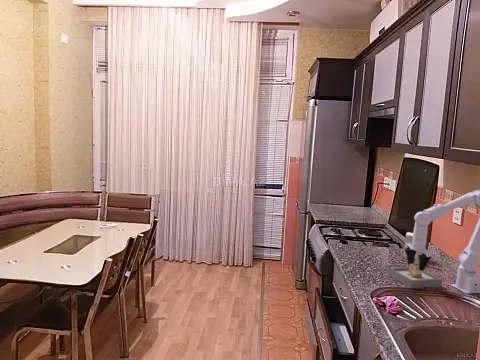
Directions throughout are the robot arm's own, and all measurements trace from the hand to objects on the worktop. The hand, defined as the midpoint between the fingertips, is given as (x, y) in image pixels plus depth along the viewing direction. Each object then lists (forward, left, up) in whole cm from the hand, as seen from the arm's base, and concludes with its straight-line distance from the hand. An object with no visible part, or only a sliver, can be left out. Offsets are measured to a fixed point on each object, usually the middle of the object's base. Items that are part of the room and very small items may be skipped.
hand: (415, 267), depth 191 cm
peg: (0, 0, -6) cm, 6 cm away
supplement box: (+34, -25, -7) cm, 43 cm away
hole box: (0, 0, -7) cm, 7 cm away
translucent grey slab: (+21, -22, -7) cm, 31 cm away
